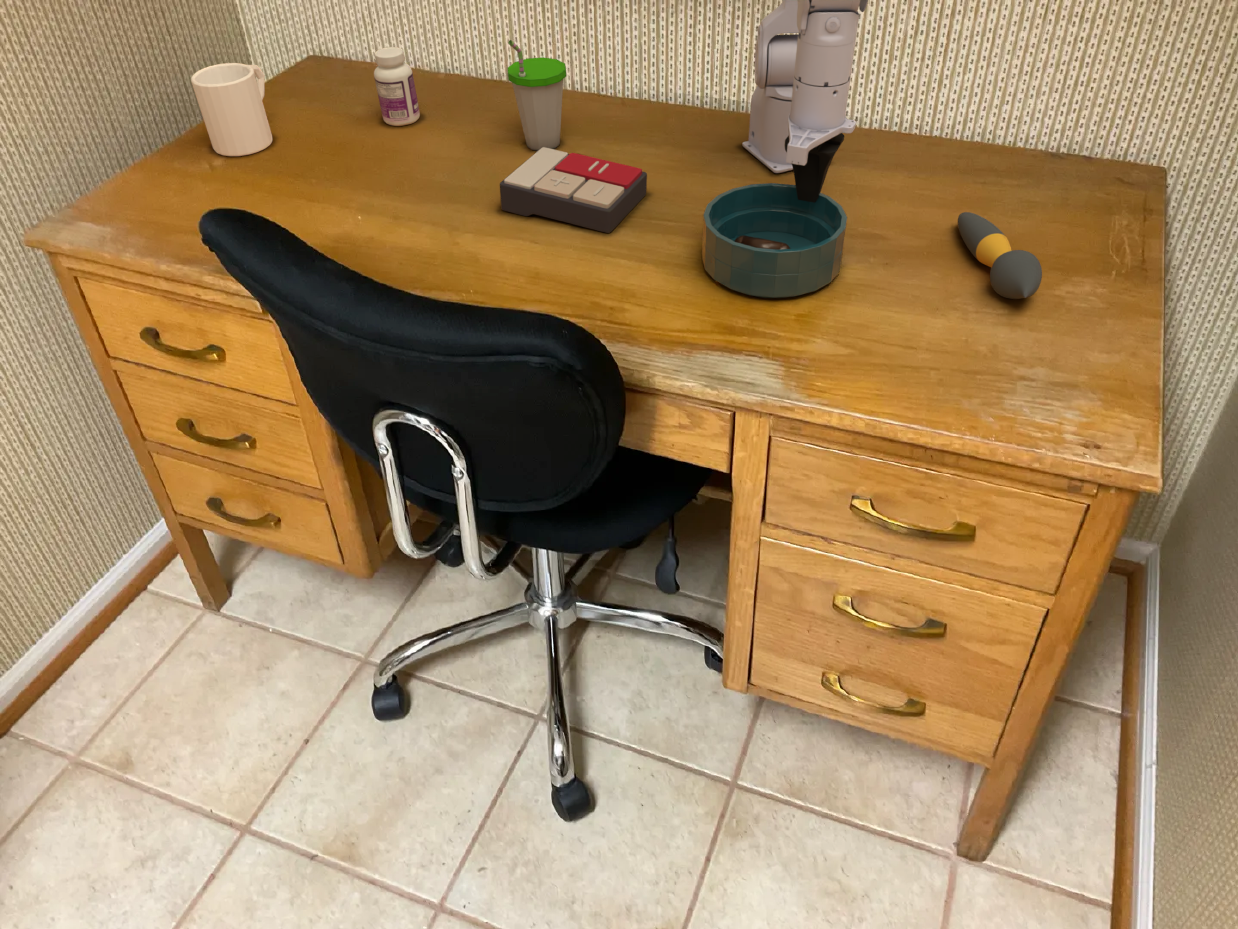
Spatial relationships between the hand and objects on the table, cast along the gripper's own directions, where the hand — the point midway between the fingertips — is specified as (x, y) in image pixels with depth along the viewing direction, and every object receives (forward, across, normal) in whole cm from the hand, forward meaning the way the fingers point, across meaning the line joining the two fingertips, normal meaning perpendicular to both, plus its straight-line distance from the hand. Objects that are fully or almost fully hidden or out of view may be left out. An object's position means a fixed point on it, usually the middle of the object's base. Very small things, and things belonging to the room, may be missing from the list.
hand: (807, 198), depth 108 cm
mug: (+6, 0, +81) cm, 81 cm away
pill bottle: (+6, +13, +64) cm, 66 cm away
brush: (+5, -6, +2) cm, 8 cm away
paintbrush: (+6, +2, -20) cm, 21 cm away
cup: (+6, +13, +41) cm, 43 cm away
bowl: (+6, -6, +2) cm, 8 cm away
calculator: (+6, -1, +29) cm, 30 cm away
